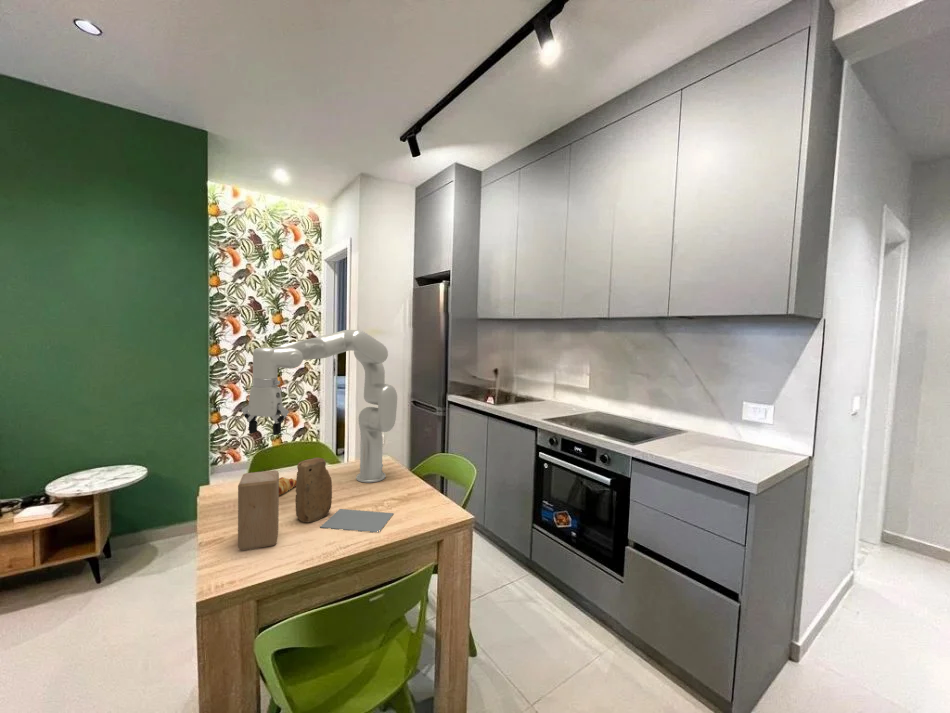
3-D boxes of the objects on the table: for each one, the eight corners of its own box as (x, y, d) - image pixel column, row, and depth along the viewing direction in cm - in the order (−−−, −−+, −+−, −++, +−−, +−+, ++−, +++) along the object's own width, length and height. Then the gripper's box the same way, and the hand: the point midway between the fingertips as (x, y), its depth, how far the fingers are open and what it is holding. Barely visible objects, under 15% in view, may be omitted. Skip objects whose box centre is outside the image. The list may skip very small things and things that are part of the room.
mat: (339, 509, 142) (339, 508, 142) (393, 514, 140) (393, 513, 140) (320, 527, 128) (320, 526, 128) (379, 533, 126) (379, 532, 126)
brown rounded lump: (303, 525, 129) (304, 465, 128) (293, 518, 134) (293, 460, 133) (334, 515, 137) (334, 458, 137) (323, 508, 142) (323, 454, 141)
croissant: (293, 492, 165) (288, 474, 167) (307, 485, 161) (302, 466, 163) (242, 509, 147) (237, 488, 149) (256, 502, 143) (251, 480, 144)
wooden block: (237, 552, 112) (237, 483, 111) (242, 536, 121) (242, 472, 121) (276, 546, 116) (277, 479, 115) (278, 530, 125) (279, 469, 125)
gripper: (295, 383, 139) (294, 432, 139) (249, 381, 141) (249, 429, 142) (282, 385, 131) (281, 437, 132) (234, 383, 133) (234, 434, 134)
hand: (264, 433), depth 137 cm, fingers open, 8 cm apart
